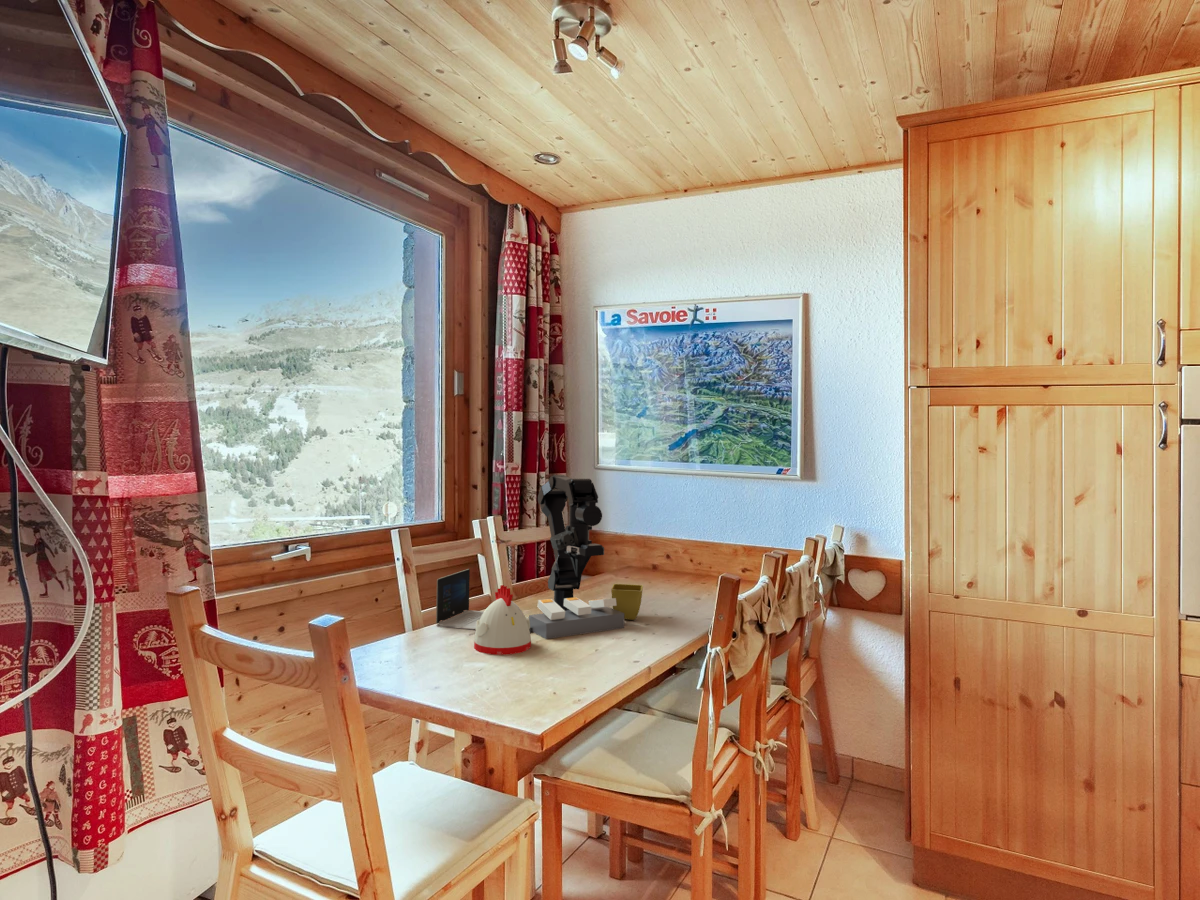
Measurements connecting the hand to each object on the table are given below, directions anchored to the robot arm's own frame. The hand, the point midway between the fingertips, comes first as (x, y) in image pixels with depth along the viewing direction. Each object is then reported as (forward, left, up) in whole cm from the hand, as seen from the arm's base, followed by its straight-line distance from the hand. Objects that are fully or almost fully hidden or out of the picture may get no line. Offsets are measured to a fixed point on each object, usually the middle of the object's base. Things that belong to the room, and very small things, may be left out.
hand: (578, 576), depth 206 cm
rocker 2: (+10, -6, -6) cm, 13 cm away
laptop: (-12, -27, -12) cm, 32 cm away
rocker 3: (+10, +2, -6) cm, 12 cm away
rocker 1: (+10, -14, -6) cm, 18 cm away
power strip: (+10, -9, -12) cm, 18 cm away
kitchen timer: (+16, -30, -12) cm, 36 cm away
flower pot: (+6, +13, -12) cm, 19 cm away
